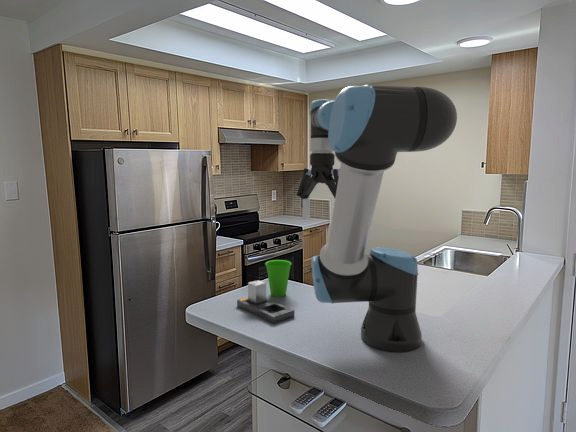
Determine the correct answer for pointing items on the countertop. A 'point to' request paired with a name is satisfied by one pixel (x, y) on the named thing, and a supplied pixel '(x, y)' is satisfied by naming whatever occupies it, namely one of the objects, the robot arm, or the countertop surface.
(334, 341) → the countertop surface
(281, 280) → the cup
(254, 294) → the gray squarish block
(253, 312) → the dark grey flat frame
